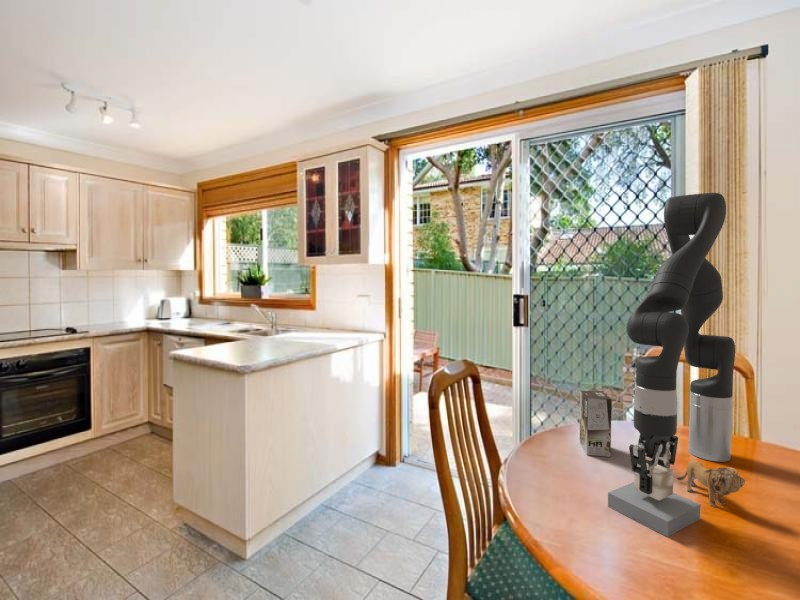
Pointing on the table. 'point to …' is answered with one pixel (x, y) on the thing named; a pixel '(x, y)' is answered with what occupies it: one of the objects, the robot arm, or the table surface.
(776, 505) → the table surface
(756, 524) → the table surface
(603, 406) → the coffee box
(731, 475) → the lion figurine
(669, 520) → the base
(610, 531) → the table surface
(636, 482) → the wooden block
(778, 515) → the table surface
